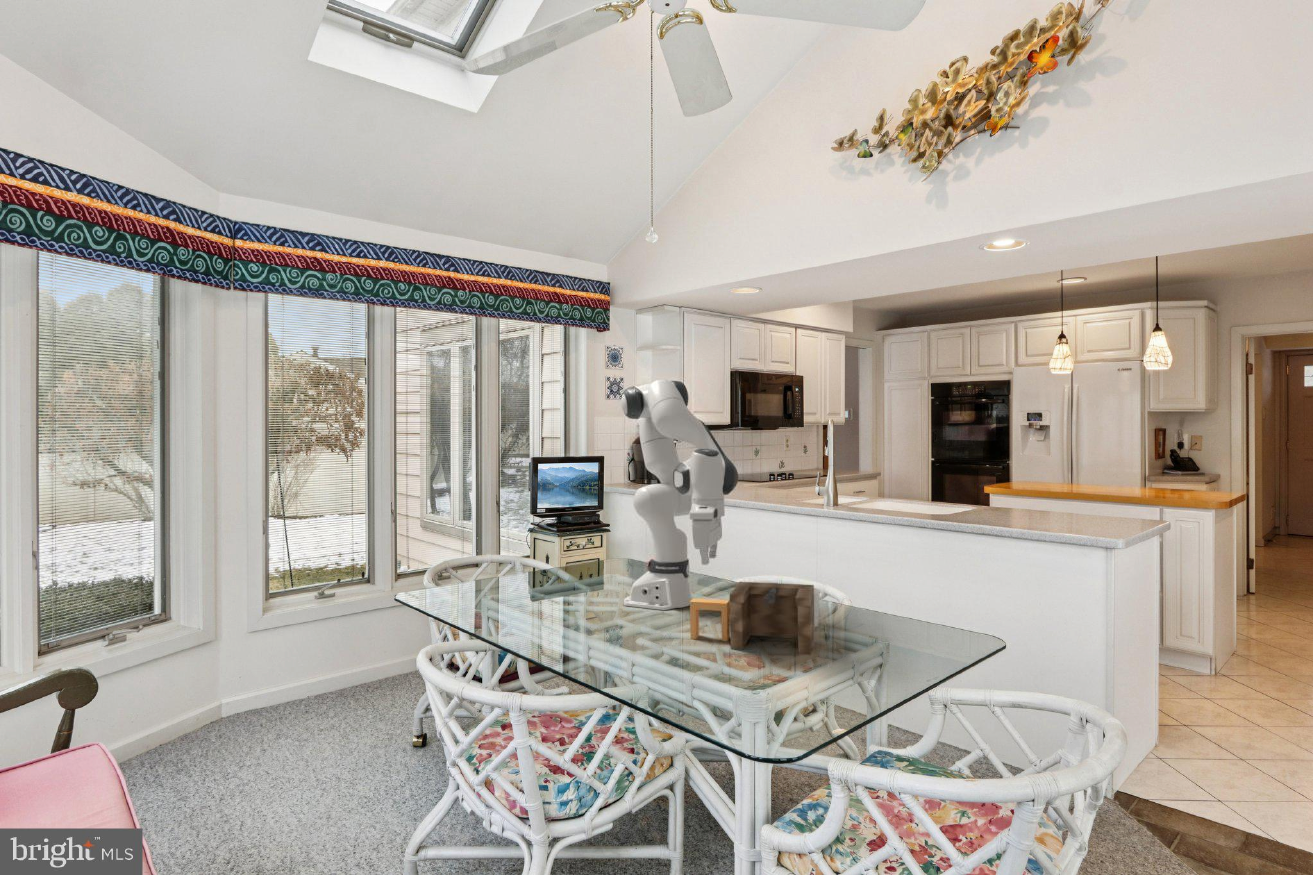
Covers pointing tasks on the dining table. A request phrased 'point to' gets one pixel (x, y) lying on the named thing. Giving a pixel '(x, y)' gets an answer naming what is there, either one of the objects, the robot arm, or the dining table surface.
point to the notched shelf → (772, 613)
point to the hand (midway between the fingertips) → (709, 561)
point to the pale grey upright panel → (816, 606)
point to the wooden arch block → (709, 605)
